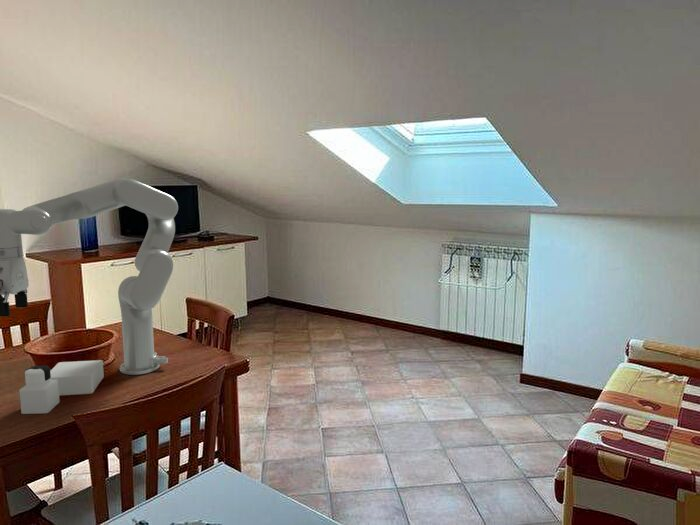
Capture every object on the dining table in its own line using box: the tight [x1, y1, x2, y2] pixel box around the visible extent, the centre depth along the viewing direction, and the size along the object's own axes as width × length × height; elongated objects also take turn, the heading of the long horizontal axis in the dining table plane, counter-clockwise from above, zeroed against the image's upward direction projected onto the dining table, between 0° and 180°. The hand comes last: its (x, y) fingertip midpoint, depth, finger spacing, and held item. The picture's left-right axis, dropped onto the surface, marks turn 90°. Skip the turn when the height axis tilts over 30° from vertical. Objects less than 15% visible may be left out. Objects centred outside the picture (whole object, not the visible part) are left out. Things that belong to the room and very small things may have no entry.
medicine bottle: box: [18, 364, 61, 415], centre depth 144 cm, size 7×7×12 cm
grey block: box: [50, 359, 105, 396], centre depth 160 cm, size 13×13×6 cm
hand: (13, 311), depth 150 cm, fingers open, 9 cm apart
